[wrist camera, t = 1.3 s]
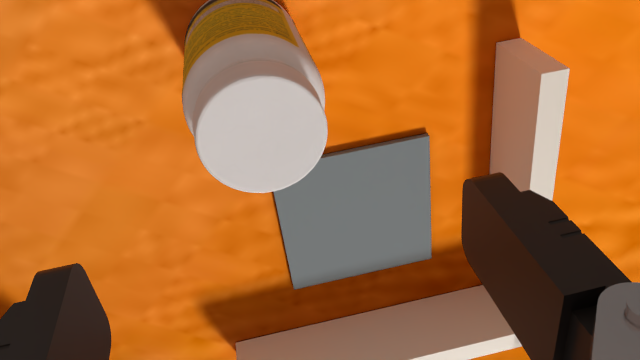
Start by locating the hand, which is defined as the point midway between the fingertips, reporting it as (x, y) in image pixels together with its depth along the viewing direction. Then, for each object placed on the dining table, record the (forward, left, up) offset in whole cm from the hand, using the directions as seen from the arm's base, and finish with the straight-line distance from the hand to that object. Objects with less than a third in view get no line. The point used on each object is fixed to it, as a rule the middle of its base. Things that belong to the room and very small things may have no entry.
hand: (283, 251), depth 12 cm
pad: (-4, +10, -14) cm, 18 cm away
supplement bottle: (0, 0, -14) cm, 14 cm away
